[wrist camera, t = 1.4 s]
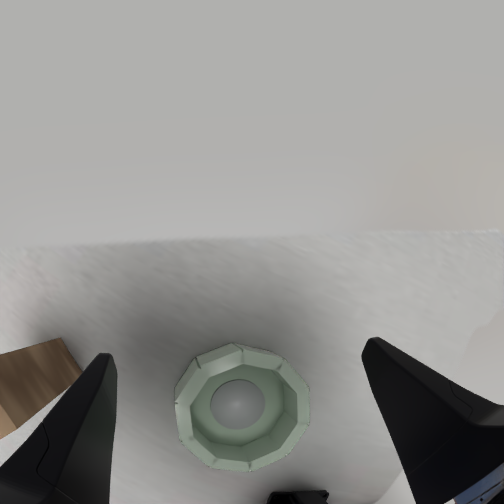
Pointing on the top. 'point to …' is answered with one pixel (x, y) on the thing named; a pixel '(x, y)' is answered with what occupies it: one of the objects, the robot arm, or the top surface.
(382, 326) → the top surface
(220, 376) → the pale green faceted bowl
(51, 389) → the layered tan brick
